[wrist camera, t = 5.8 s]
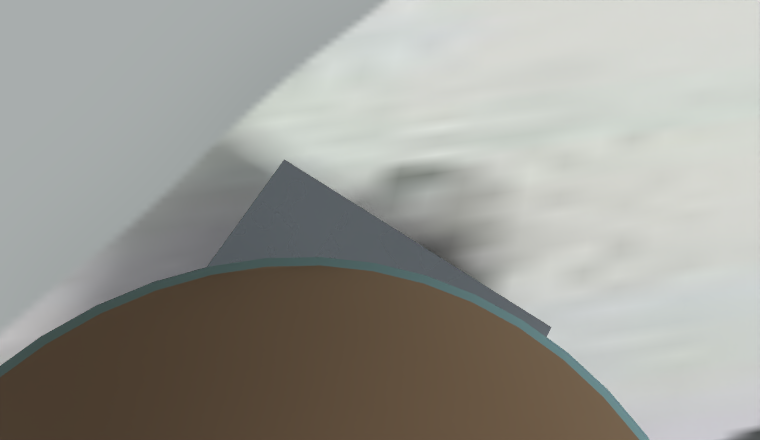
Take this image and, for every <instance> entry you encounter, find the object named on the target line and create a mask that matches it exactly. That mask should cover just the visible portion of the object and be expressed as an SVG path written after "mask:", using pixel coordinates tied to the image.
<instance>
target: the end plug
mask: <svg viewBox="0 0 760 440" xmlns="http://www.w3.org/2000/svg"><path fill="white" fill-rule="evenodd" d="M0 440H649V438H648V437H647V435H646V434H645V433H644V432H643V431H642V429H641V428H640V427H639V426H638V425H637V424H636V422H635V421H634V420H633V419H632V418H631V416H630V415H629V414H628V413H627V412H626V411H625V409H624V408H623V407H622V406H621V405H620V403H619V402H618V401H617V400H616V399H615V398H614V396H613V395H612V394H611V393H610V392H609V391H608V390H607V389H606V388H605V387H604V386H603V385H602V384H601V383H600V382H599V381H598V380H597V379H595V378H594V377H593V376H592V375H591V374H590V373H589V372H588V371H587V370H586V369H585V368H584V367H583V366H581V365H580V364H579V363H578V362H577V361H576V360H575V359H574V358H573V357H572V356H571V355H570V354H569V353H567V352H566V351H565V350H563V349H562V348H560V347H559V346H558V345H556V344H555V343H554V342H552V341H551V340H549V339H548V338H547V337H545V336H544V335H542V334H541V333H540V332H538V331H537V330H536V329H534V328H533V327H531V326H530V325H529V324H527V323H526V322H524V321H523V320H521V319H519V318H518V317H516V316H514V315H512V314H510V313H508V312H506V311H505V310H503V309H501V308H499V307H497V306H495V305H494V304H492V303H490V302H488V301H486V300H484V299H483V298H481V297H479V296H477V295H475V294H472V293H470V292H467V291H465V290H462V289H460V288H457V287H454V286H452V285H449V284H447V283H444V282H441V281H439V280H436V279H434V278H431V277H429V276H426V275H422V274H418V273H414V272H410V271H405V270H401V269H397V268H393V267H389V266H385V265H381V264H377V263H371V262H361V261H352V260H343V259H334V258H325V257H298V258H263V259H257V260H250V261H243V262H236V263H230V264H223V265H216V266H210V267H206V268H202V269H199V270H195V271H192V272H188V273H185V274H181V275H177V276H174V277H170V278H167V279H163V280H159V281H156V282H153V283H150V284H148V285H145V286H143V287H140V288H138V289H136V290H133V291H131V292H128V293H126V294H124V295H121V296H119V297H116V298H114V299H111V300H109V301H107V302H104V303H102V304H99V305H97V306H95V307H93V308H92V309H90V310H88V311H86V312H84V313H83V314H81V315H79V316H77V317H75V318H74V319H72V320H70V321H68V322H66V323H65V324H63V325H61V326H59V327H58V328H56V329H54V330H52V331H50V332H49V333H47V334H45V335H43V336H41V337H40V338H38V339H37V340H36V341H34V342H33V343H32V344H30V345H29V346H27V347H26V348H25V349H23V350H22V351H20V352H19V353H18V354H16V355H15V356H13V357H12V358H11V359H9V360H8V361H6V362H5V363H4V364H2V365H1V366H0Z"/></svg>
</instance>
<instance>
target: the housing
mask: <svg viewBox="0 0 760 440" xmlns="http://www.w3.org/2000/svg"><path fill="white" fill-rule="evenodd" d="M298 257H325V258H334V259H343V260H352V261H361V262H371V263H377V264H381V265H385V266H389V267H393V268H397V269H401V270H405V271H410V272H414V273H418V274H422V275H426V276H429V277H431V278H434V279H436V280H439V281H441V282H444V283H447V284H449V285H452V286H454V287H457V288H460V289H462V290H465V291H467V292H470V293H472V294H475V295H477V296H479V297H481V298H483V299H484V300H486V301H488V302H490V303H492V304H494V305H495V306H497V307H499V308H501V309H503V310H505V311H506V312H508V313H510V314H512V315H514V316H516V317H518V318H519V319H521V320H523V321H524V322H526V323H527V324H529V325H530V326H531V327H533V328H534V329H536V330H537V331H538V332H540V333H541V334H542V335H544V336H545V337H547V335H548V333H549V331H550V329H551V327H550V326H548V325H547V324H545V323H544V322H542V321H540V320H539V319H537V318H536V317H534V316H532V315H531V314H529V313H528V312H526V311H524V310H523V309H521V308H520V307H518V306H517V305H515V304H513V303H512V302H510V301H509V300H507V299H505V298H504V297H502V296H501V295H499V294H497V293H496V292H494V291H493V290H491V289H489V288H488V287H486V286H485V285H483V284H482V283H480V282H478V281H477V280H475V279H474V278H472V277H470V276H469V275H467V274H466V273H464V272H462V271H461V270H459V269H458V268H456V267H454V266H453V265H451V264H450V263H448V262H447V261H445V260H443V259H442V258H440V257H439V256H437V255H435V254H434V253H432V252H431V251H429V250H427V249H426V248H424V247H423V246H421V245H419V244H418V243H416V242H415V241H413V240H412V239H410V238H408V237H407V236H405V235H404V234H402V233H400V232H399V231H397V230H396V229H394V228H392V227H391V226H389V225H388V224H386V223H384V222H383V221H381V220H380V219H378V218H376V217H375V216H373V215H372V214H370V213H369V212H367V211H365V210H364V209H362V208H361V207H359V206H357V205H356V204H354V203H353V202H351V201H349V200H348V199H346V198H345V197H343V196H341V195H340V194H338V193H337V192H335V191H334V190H332V189H330V188H329V187H327V186H326V185H324V184H322V183H321V182H319V181H318V180H316V179H314V178H313V177H311V176H310V175H308V174H306V173H305V172H303V171H302V170H300V169H299V168H297V167H295V166H294V165H292V164H291V163H289V162H287V161H286V160H284V161H283V162H282V164H281V165H280V166H279V168H278V169H277V171H276V172H275V173H274V175H273V176H272V177H271V179H270V180H269V182H268V183H267V184H266V186H265V187H264V189H263V190H262V191H261V193H260V194H259V196H258V197H257V198H256V200H255V201H254V202H253V204H252V205H251V207H250V208H249V209H248V211H247V212H246V214H245V215H244V216H243V218H242V219H241V221H240V222H239V223H238V225H237V226H236V227H235V229H234V230H233V232H232V233H231V234H230V236H229V237H228V239H227V240H226V241H225V243H224V244H223V246H222V247H221V248H220V250H219V251H218V252H217V254H216V255H215V257H214V258H213V259H212V261H211V262H210V264H209V265H208V266H207V267H210V266H216V265H223V264H230V263H236V262H243V261H250V260H257V259H263V258H298Z"/></svg>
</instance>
